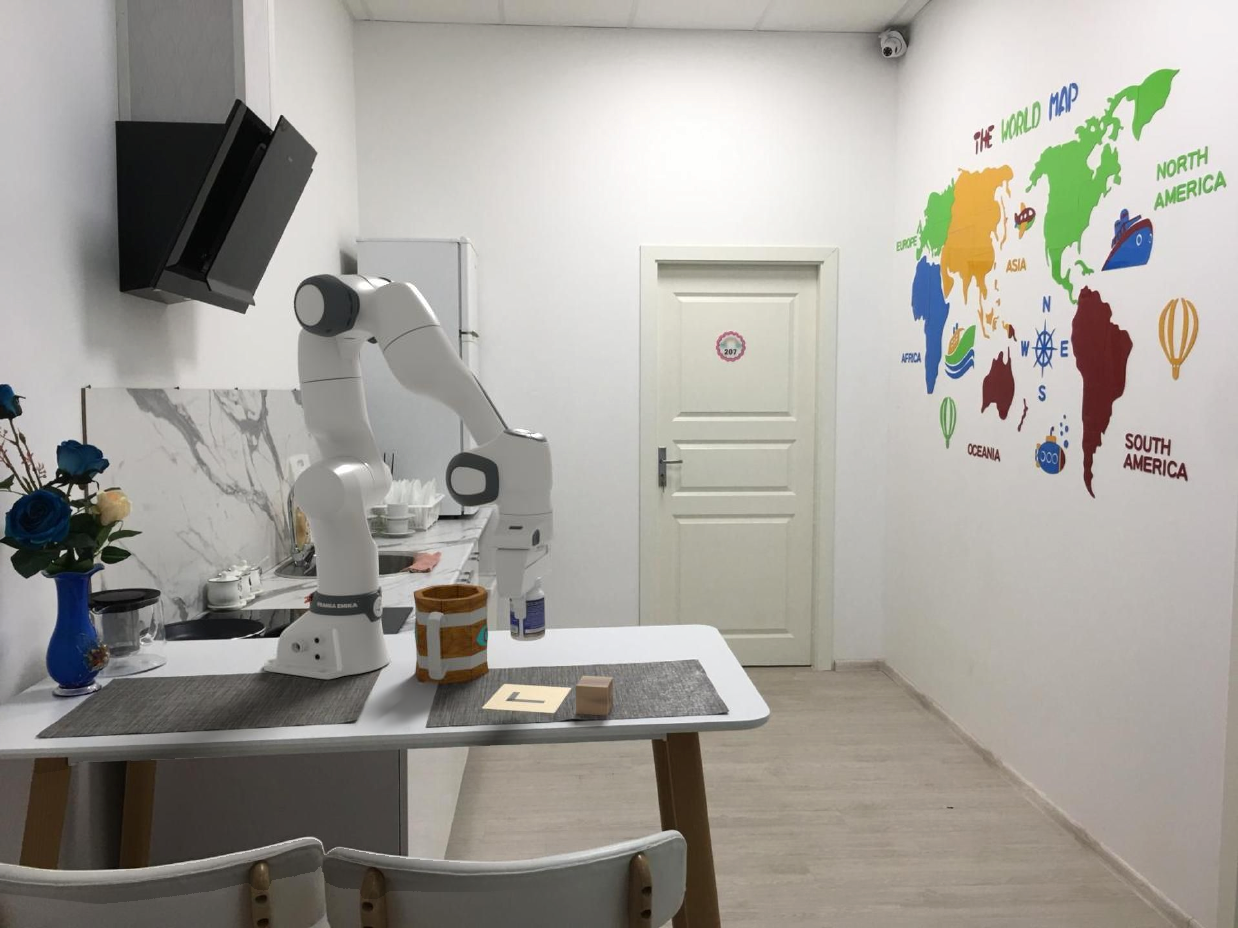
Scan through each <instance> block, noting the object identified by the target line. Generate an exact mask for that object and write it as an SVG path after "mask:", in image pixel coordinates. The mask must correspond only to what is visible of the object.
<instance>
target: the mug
mask: <svg viewBox="0 0 1238 928" xmlns="http://www.w3.org/2000/svg"><path fill="white" fill-rule="evenodd" d="M413 598H414V605H415V609H414V610H415V620H414V621H415V622H414V641H415V647H416V648H415V649H416V650H415V651H416V654H415V655H416V658H415V659H416V661H415V662H416V663H415V671H414V673H415V676H416V679H417V681H418V682H419V683H425V682H431V683H435V684H436V683H437V684H443V685H444V684H452V683H460V682H470V681H474V680H476V679H478V678H480V677H481V676H484V675H486V674H488V673H489V672H490V671H489V665H488V664H489V663H488V639H489V638H488V637H489V630H488V620H487V619H488V618H487V602H488V591H487V590H486V589H485V588H484V586H480V585H472V584H463V583H454V584H441V585H440V584H439V585H430V586H427V587H424V588H421V589H417V590H415V591H413Z"/></svg>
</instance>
